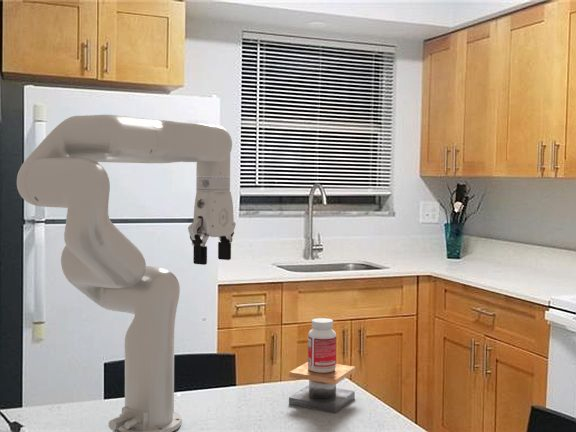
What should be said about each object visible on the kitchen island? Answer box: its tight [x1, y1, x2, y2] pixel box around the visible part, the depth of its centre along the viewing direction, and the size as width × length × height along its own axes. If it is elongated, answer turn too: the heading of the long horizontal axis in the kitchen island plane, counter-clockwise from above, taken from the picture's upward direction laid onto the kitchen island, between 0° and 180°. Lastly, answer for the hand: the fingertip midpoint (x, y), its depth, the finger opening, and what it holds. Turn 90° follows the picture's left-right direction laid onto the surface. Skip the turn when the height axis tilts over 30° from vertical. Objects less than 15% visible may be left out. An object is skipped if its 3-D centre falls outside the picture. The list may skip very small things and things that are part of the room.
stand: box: [288, 361, 356, 414], centre depth 147 cm, size 11×11×7 cm
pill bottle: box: [307, 317, 337, 373], centre depth 146 cm, size 6×6×11 cm
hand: (212, 261), depth 149 cm, fingers open, 9 cm apart
